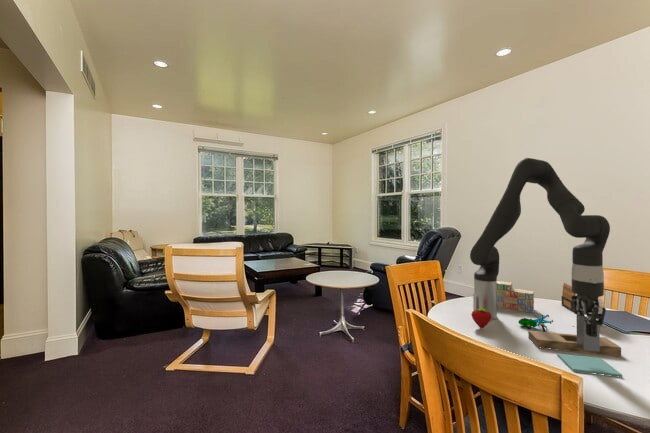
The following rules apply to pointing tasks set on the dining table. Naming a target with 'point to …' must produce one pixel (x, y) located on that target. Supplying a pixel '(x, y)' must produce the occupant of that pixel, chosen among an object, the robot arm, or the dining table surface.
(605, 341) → the brown slotted block
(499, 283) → the stack of blocks
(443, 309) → the dining table surface
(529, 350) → the dining table surface
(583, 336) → the steel plug
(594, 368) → the teal pad
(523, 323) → the stick construction toy
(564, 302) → the brown flat upright panel
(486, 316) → the strawberry
